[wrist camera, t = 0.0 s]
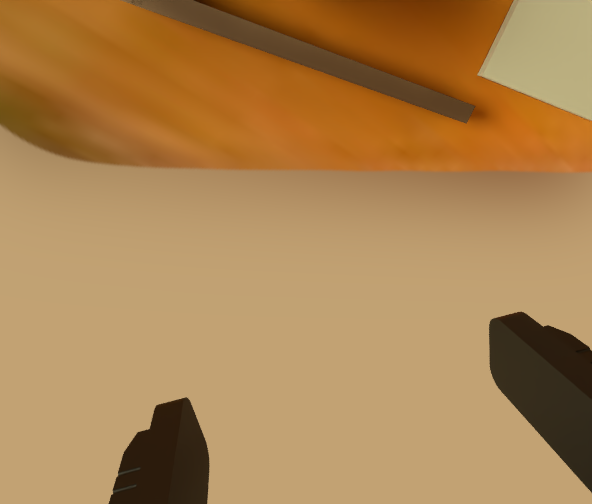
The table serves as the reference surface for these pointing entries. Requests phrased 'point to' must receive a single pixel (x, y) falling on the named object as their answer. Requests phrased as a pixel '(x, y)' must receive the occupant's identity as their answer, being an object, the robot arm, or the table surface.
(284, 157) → the table surface
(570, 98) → the pad
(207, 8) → the lane rack
